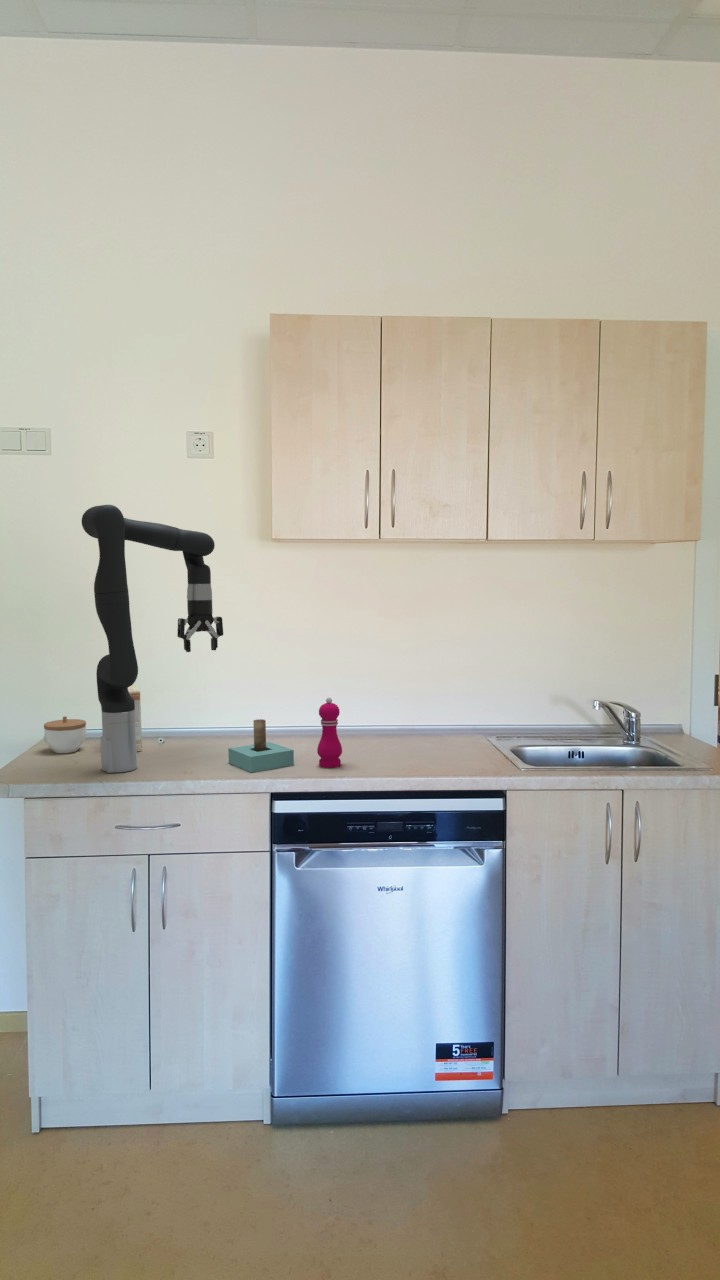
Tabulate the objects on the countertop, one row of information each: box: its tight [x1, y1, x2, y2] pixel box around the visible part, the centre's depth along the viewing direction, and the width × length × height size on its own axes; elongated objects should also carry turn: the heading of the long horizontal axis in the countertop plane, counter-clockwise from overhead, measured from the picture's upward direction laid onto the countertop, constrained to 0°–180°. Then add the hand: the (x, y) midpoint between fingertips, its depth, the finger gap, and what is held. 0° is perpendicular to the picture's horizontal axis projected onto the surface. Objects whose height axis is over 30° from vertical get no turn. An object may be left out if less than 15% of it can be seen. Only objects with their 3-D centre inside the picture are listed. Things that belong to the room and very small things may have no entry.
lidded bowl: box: [43, 716, 87, 754], centre depth 258 cm, size 13×13×11 cm
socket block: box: [228, 741, 295, 773], centre depth 238 cm, size 14×14×4 cm
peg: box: [252, 718, 267, 752], centre depth 238 cm, size 4×4×13 cm
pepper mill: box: [316, 697, 343, 769], centre depth 235 cm, size 7×7×20 cm
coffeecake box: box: [128, 684, 143, 753], centre depth 261 cm, size 15×7×20 cm, turn 21°
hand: (201, 651), depth 251 cm, fingers open, 8 cm apart
